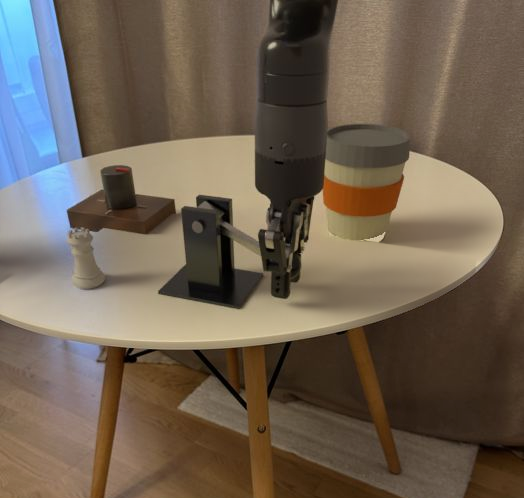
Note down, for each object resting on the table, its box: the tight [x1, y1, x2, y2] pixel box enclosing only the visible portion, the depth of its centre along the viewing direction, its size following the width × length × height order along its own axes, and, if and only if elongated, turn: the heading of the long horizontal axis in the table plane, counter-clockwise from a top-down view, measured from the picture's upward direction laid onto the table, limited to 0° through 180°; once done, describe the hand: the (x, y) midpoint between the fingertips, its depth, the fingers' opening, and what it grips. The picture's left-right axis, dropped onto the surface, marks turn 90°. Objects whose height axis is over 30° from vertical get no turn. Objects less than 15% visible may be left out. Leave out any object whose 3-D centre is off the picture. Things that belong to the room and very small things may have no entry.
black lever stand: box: [157, 194, 265, 310], centre depth 68 cm, size 11×9×12 cm
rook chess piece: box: [65, 227, 106, 290], centre depth 70 cm, size 4×4×8 cm
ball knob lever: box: [196, 201, 302, 279], centre depth 66 cm, size 14×4×4 cm, turn 70°
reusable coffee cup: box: [322, 123, 411, 241], centre depth 82 cm, size 13×13×15 cm
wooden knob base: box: [66, 188, 177, 235], centre depth 89 cm, size 14×10×3 cm
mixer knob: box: [99, 164, 137, 209], centre depth 87 cm, size 5×5×6 cm
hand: (285, 287), depth 67 cm, fingers closed on ball knob lever, 3 cm apart
